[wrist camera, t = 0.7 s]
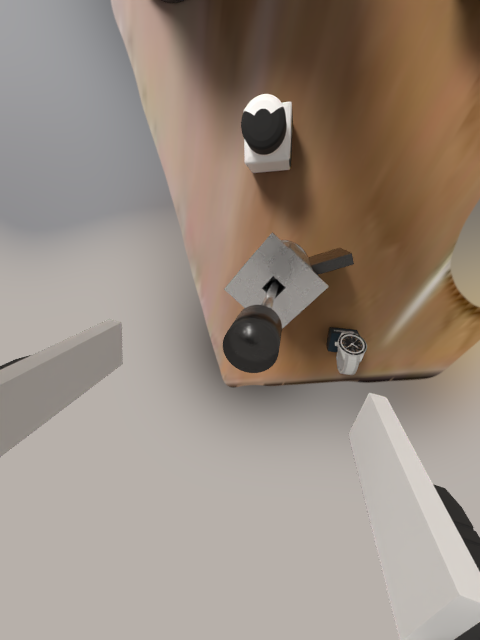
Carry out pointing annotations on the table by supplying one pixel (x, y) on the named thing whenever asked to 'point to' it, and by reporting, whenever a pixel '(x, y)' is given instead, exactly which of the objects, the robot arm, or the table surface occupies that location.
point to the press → (285, 276)
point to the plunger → (255, 334)
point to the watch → (346, 348)
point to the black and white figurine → (267, 134)
